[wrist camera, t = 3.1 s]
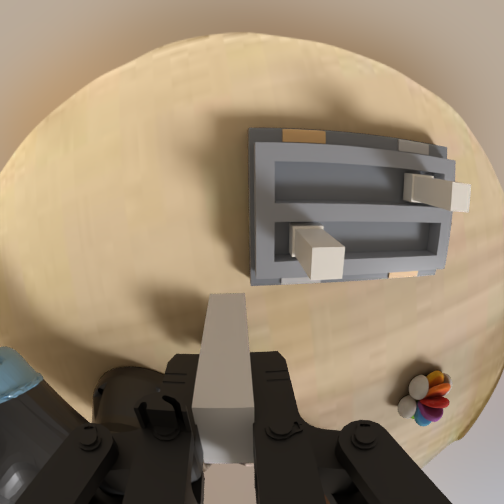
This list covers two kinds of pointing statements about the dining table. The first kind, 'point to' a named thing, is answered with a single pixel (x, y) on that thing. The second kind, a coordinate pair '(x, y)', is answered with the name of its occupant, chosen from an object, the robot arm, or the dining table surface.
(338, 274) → the tab
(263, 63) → the dining table surface
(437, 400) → the rainbow petal flower
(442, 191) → the tab
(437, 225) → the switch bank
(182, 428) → the robot arm
